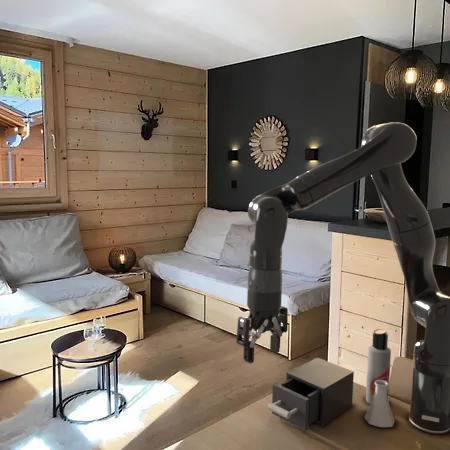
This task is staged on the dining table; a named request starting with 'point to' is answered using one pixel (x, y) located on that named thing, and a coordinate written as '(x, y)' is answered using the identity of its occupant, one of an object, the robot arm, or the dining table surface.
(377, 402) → the flask
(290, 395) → the drawer
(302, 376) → the cabinet
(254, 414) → the dining table surface
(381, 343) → the lotion bottle
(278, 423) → the dining table surface
